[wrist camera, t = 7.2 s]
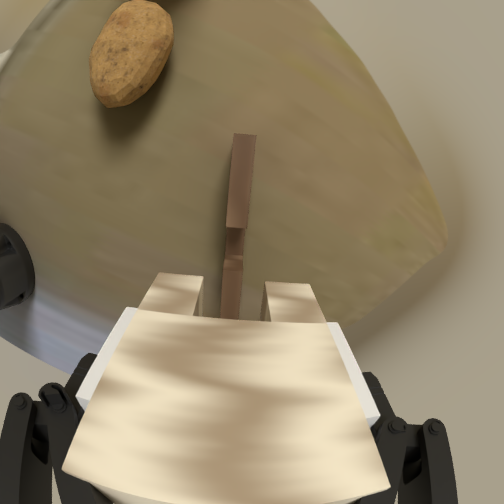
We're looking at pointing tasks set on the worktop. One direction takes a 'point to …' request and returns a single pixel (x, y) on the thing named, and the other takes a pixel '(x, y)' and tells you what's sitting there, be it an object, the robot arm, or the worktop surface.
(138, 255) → the worktop surface
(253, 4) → the worktop surface
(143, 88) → the potato
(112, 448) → the birch plate
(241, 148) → the walnut board
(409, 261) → the worktop surface
